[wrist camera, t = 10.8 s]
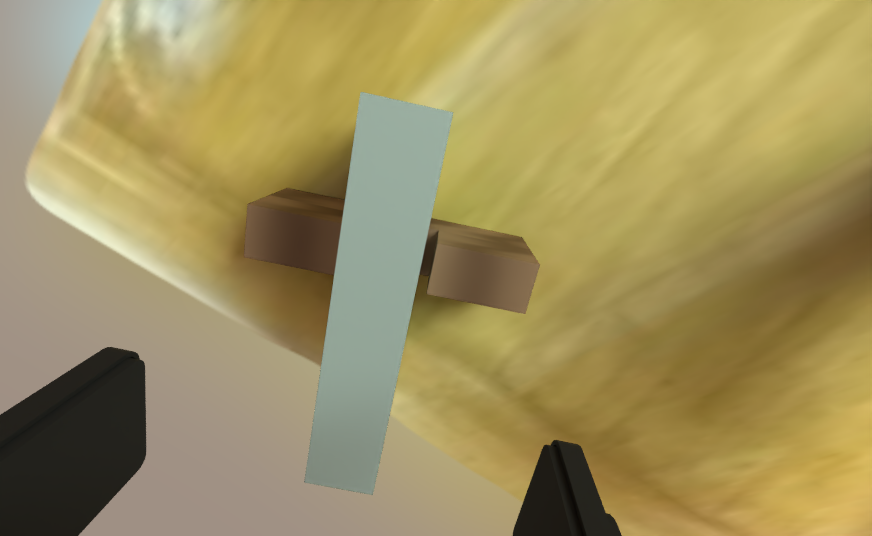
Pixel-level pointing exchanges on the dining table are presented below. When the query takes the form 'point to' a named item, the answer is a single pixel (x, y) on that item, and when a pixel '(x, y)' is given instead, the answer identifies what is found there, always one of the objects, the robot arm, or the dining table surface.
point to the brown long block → (442, 260)
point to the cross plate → (374, 285)
